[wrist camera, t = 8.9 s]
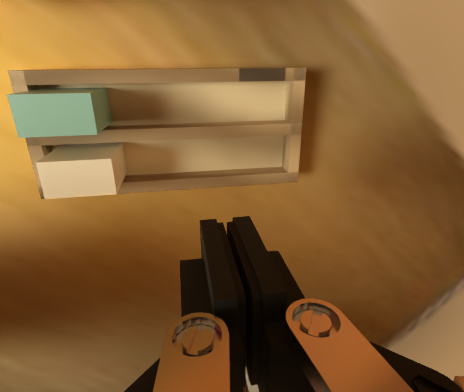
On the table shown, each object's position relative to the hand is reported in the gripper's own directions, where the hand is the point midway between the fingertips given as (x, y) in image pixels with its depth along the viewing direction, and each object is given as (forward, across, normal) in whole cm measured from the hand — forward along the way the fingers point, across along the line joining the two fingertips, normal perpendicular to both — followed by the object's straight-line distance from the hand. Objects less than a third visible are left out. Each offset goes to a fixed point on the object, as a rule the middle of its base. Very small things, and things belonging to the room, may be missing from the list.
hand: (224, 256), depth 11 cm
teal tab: (+14, +8, -4) cm, 16 cm away
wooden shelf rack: (+15, +2, -2) cm, 15 cm away
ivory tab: (+14, +7, 0) cm, 15 cm away
